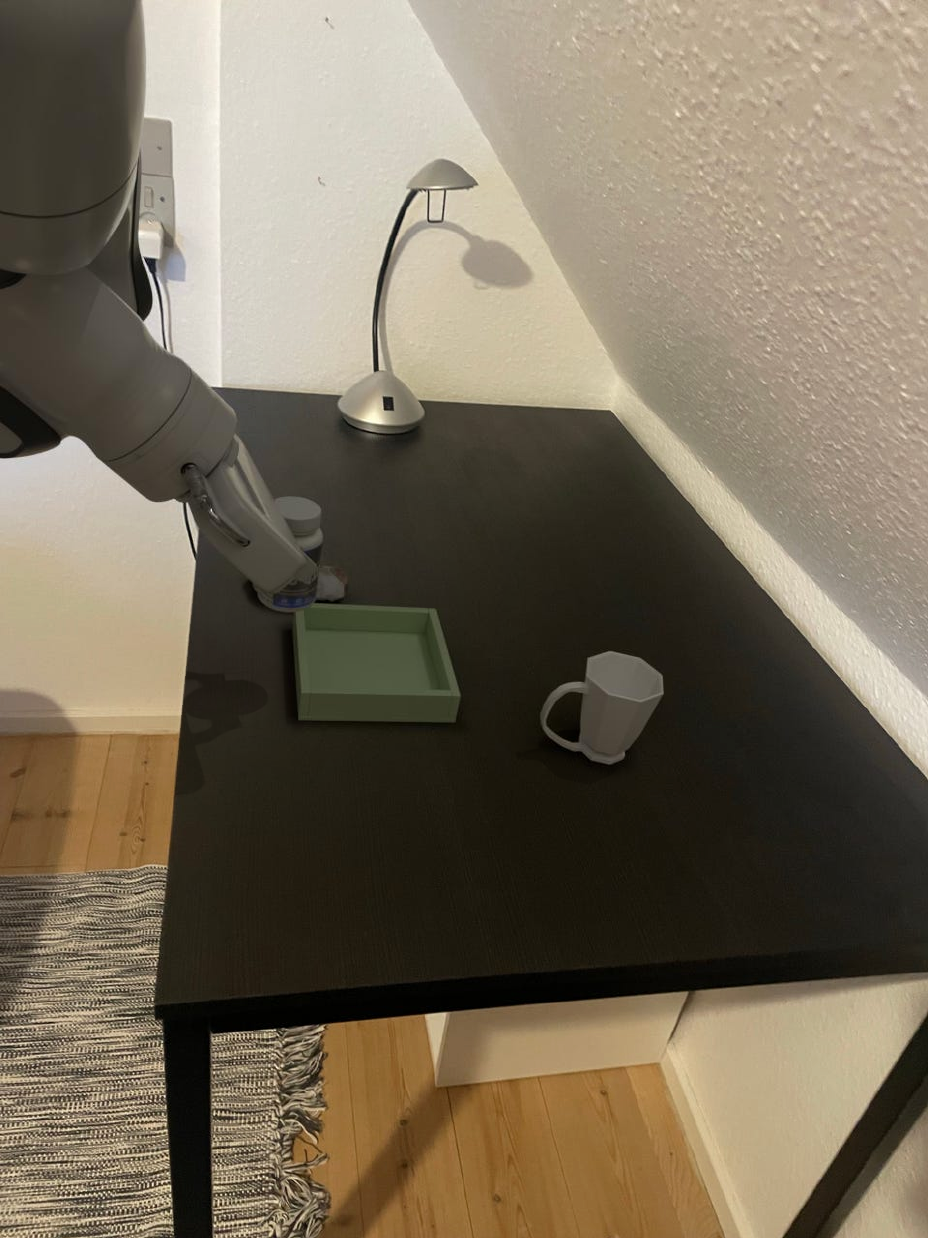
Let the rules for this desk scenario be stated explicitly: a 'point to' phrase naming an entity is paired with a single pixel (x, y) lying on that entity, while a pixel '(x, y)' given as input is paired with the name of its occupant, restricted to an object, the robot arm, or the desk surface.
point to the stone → (329, 584)
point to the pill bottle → (309, 537)
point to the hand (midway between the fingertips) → (298, 551)
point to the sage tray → (372, 665)
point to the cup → (610, 705)
